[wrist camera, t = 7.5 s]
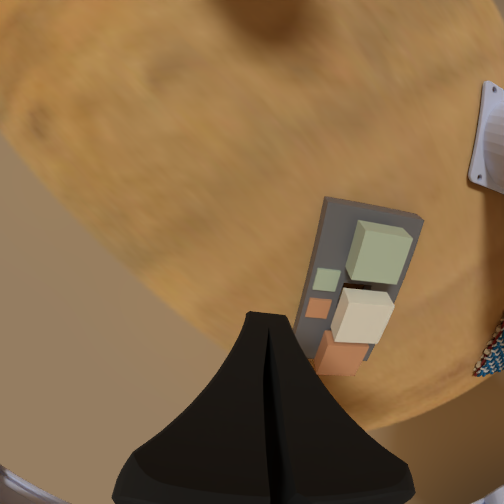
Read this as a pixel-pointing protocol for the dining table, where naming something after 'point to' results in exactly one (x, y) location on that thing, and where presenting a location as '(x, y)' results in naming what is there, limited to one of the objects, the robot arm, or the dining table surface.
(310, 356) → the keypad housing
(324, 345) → the key rust
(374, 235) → the key sage
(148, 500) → the robot arm
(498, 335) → the woven mat
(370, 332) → the cream cube block
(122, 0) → the dining table surface
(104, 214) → the dining table surface
